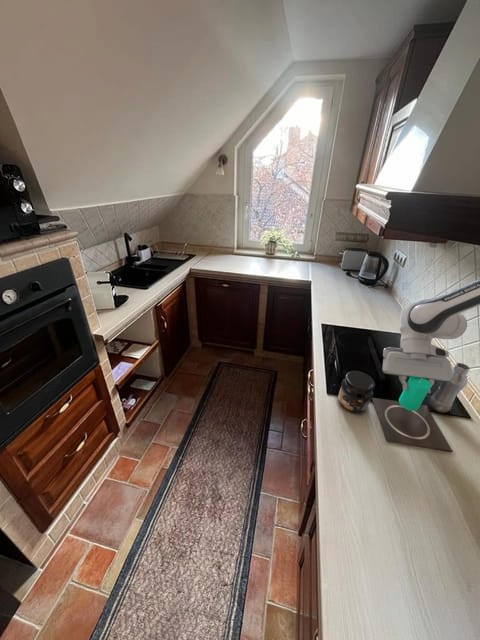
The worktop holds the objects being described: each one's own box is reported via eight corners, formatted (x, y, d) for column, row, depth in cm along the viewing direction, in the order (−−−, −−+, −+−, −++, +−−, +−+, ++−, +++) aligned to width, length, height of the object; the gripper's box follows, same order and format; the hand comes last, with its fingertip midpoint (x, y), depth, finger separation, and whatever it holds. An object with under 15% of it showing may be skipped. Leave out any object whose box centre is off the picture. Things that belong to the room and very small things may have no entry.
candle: (394, 399, 88) (407, 374, 82) (407, 395, 90) (420, 370, 84) (409, 413, 84) (424, 387, 77) (422, 408, 85) (437, 382, 79)
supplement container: (330, 397, 96) (337, 373, 90) (351, 389, 100) (360, 366, 94) (351, 419, 88) (360, 394, 82) (373, 410, 92) (383, 385, 85)
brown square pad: (425, 406, 94) (426, 405, 93) (451, 452, 78) (452, 450, 78) (371, 398, 96) (371, 397, 96) (386, 441, 81) (387, 440, 80)
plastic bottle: (452, 412, 92) (480, 370, 81) (439, 417, 89) (467, 375, 79) (434, 399, 97) (459, 358, 87) (422, 404, 94) (446, 362, 84)
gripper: (387, 344, 85) (387, 387, 81) (454, 352, 82) (457, 396, 79) (379, 347, 91) (379, 387, 87) (441, 354, 88) (443, 395, 85)
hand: (416, 391), depth 83 cm, fingers closed on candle, 5 cm apart
